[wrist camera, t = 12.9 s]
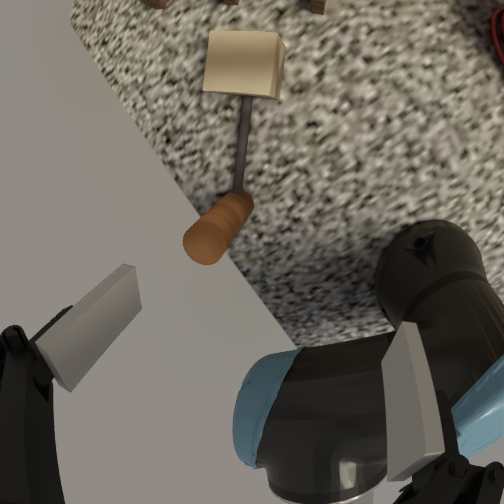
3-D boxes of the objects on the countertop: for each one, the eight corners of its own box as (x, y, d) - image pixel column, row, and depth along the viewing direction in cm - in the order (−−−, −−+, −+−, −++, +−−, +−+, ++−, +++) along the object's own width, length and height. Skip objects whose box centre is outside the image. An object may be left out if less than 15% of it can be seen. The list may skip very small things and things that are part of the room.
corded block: (261, 223, 33) (235, 272, 24) (213, 213, 34) (170, 256, 24) (286, 48, 23) (266, 14, 14) (230, 44, 24) (185, 16, 14)
